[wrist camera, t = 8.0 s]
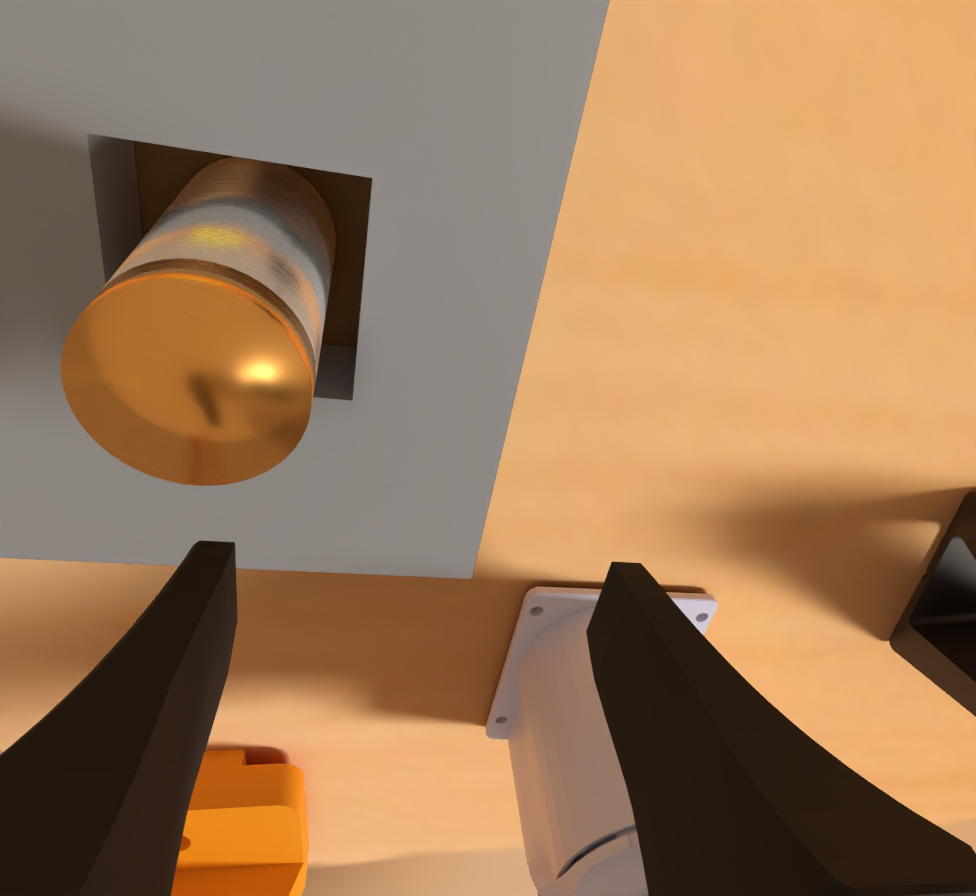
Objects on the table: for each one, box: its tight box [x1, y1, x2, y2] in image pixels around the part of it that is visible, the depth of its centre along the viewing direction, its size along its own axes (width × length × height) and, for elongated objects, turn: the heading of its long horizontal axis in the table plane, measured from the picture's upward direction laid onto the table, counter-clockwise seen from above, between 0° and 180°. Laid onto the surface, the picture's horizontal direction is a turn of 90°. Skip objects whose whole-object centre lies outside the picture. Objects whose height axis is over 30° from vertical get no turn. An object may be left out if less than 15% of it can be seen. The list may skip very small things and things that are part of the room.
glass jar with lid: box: [61, 156, 336, 486], centre depth 15 cm, size 4×4×8 cm
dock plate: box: [0, 0, 610, 579], centre depth 17 cm, size 18×14×3 cm
